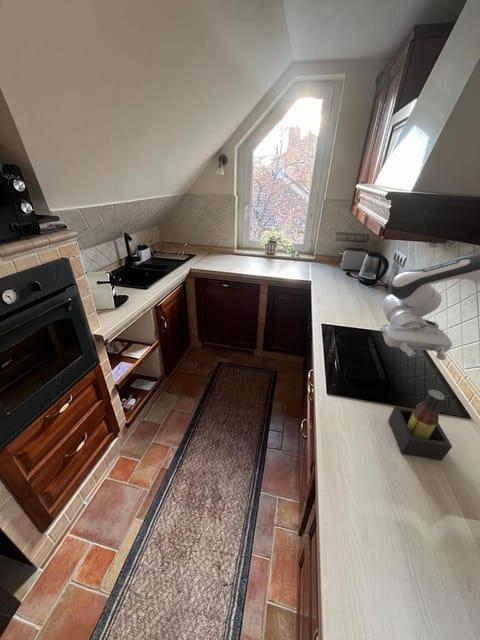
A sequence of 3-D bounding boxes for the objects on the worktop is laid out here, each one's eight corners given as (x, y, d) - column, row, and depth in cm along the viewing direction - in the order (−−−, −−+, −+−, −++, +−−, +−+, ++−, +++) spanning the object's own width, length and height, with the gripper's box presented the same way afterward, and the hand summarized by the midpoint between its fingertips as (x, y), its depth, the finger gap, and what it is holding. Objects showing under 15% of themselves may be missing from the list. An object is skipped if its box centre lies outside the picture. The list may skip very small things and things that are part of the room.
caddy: (423, 425, 86) (431, 411, 83) (441, 460, 76) (452, 446, 72) (387, 420, 88) (394, 406, 84) (401, 453, 77) (409, 439, 74)
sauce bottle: (429, 444, 80) (458, 400, 70) (415, 451, 78) (443, 407, 68) (410, 427, 86) (434, 384, 75) (397, 433, 83) (420, 390, 73)
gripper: (382, 317, 87) (398, 346, 77) (442, 323, 87) (466, 353, 76) (374, 331, 91) (389, 360, 81) (431, 336, 91) (453, 366, 80)
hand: (427, 356), depth 78 cm, fingers open, 8 cm apart
